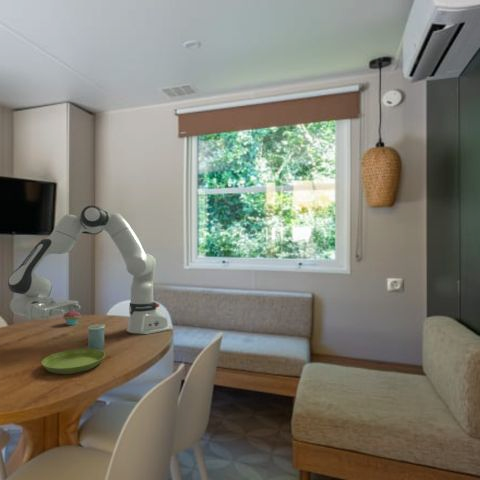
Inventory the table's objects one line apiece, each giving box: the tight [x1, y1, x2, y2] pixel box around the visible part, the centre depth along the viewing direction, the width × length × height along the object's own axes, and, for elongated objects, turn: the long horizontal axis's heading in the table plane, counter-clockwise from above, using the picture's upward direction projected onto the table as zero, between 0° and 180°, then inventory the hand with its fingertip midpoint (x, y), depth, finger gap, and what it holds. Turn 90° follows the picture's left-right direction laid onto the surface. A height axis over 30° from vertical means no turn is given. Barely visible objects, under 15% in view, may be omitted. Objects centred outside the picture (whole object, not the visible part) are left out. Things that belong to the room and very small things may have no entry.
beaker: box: [87, 323, 106, 352], centre depth 135 cm, size 6×6×10 cm
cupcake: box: [62, 310, 82, 326], centre depth 176 cm, size 9×8×12 cm
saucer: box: [41, 348, 106, 375], centre depth 118 cm, size 21×21×3 cm
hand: (72, 309), depth 138 cm, fingers open, 8 cm apart
